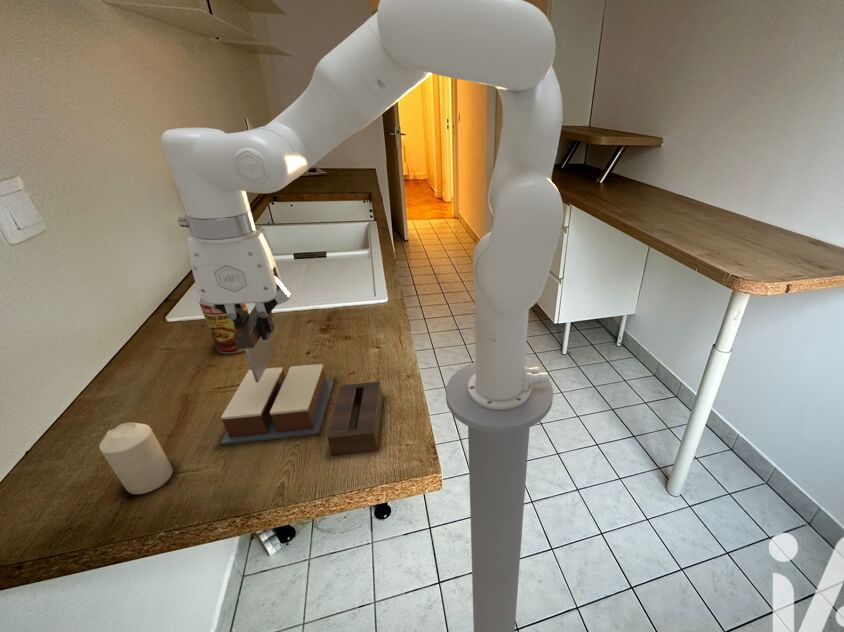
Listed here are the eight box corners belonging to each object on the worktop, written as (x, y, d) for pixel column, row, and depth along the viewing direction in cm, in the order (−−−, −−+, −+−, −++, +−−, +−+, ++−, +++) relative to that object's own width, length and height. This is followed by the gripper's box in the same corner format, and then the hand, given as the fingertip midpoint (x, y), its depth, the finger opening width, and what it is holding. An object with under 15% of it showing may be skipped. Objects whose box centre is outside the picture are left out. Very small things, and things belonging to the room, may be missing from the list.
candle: (161, 491, 59) (132, 442, 54) (117, 497, 58) (83, 447, 53) (180, 462, 64) (154, 413, 59) (139, 467, 63) (110, 418, 58)
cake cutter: (268, 349, 74) (255, 305, 69) (282, 348, 74) (269, 304, 70) (249, 383, 65) (233, 335, 61) (264, 381, 66) (249, 334, 61)
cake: (334, 381, 83) (329, 360, 80) (318, 434, 70) (312, 412, 68) (252, 388, 80) (244, 367, 77) (221, 445, 67) (211, 422, 65)
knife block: (344, 401, 78) (340, 384, 76) (383, 397, 79) (380, 381, 77) (332, 455, 66) (327, 437, 64) (377, 450, 68) (373, 432, 66)
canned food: (208, 352, 90) (189, 303, 84) (232, 333, 97) (215, 287, 91) (243, 354, 90) (226, 305, 84) (264, 336, 96) (250, 289, 91)
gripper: (143, 234, 53) (192, 352, 62) (277, 232, 56) (305, 345, 65) (172, 218, 60) (213, 327, 69) (291, 217, 63) (315, 322, 72)
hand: (257, 335), depth 67 cm, fingers closed on cake cutter, 2 cm apart
